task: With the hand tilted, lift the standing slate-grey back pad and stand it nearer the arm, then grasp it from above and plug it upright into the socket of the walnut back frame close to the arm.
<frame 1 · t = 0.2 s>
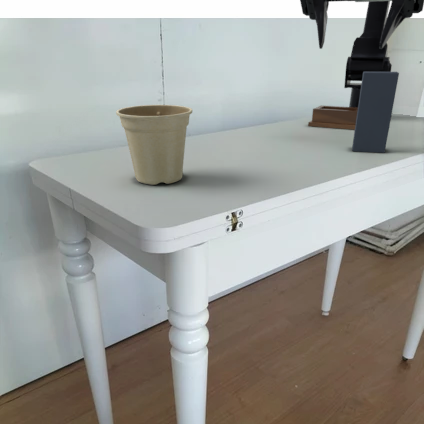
hand: (350, 47, 70), 15 cm above the table, tool tilted 35°, fingers open, 9 cm apart
flower pot: (159, 180, 60), on the table
back pad: (368, 150, 74), on the table
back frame: (336, 125, 94), on the table
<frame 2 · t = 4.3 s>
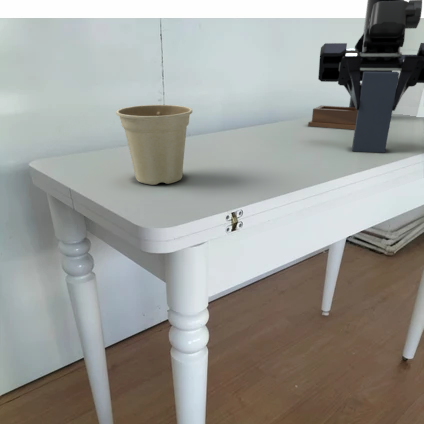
hand: (375, 108, 69), 7 cm above the table, tool tilted 45°, fingers closed on back pad, 5 cm apart
back pad: (368, 150, 74), on the table, touching gripper
everything else where it was.
when the fingers open (7 cm above the table, at t = 9.6 s): back pad stays where it is, on the table.
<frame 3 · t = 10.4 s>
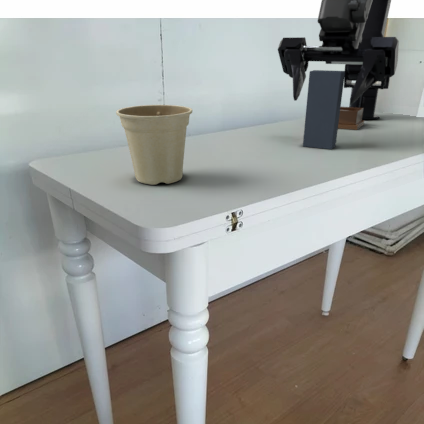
hand: (322, 100, 72), 7 cm above the table, tool tilted 45°, fingers open, 9 cm apart
back pad: (319, 146, 77), on the table
everything else where it was.
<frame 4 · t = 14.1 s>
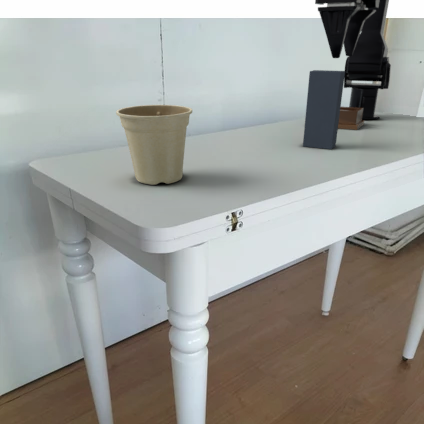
hand: (342, 57, 77), 13 cm above the table, tool pointing down, fingers open, 9 cm apart
nothing on the table moved.
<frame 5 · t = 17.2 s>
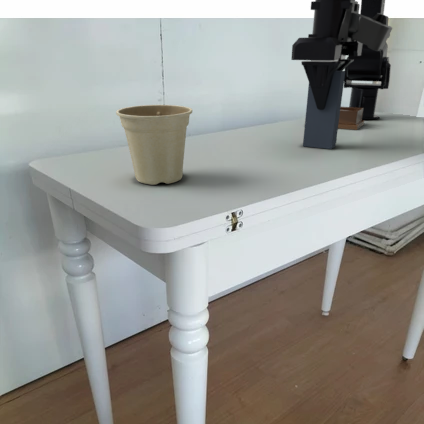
hand: (323, 108, 74), 6 cm above the table, tool pointing down, fingers closed on back pad, 2 cm apart
back pad: (319, 146, 77), on the table, touching gripper
everything else where it was.
when the fingers open (7 cm above the table, at t = 23.6 s): back pad stays where it is, resting on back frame.
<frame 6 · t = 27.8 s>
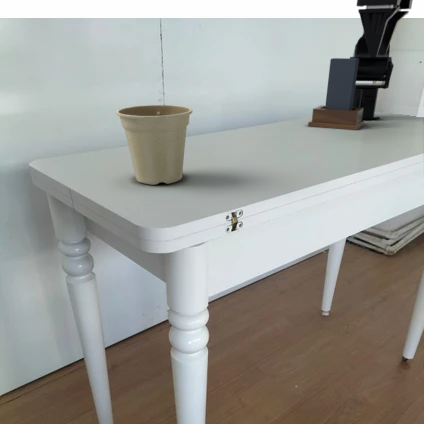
hand: (378, 56, 81), 13 cm above the table, tool pointing down, fingers open, 9 cm apart
back pad: (337, 121, 94), point 1 cm above the table, touching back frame
everything else where it was.
at the end: back pad 0.1 cm off-centre on the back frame, point 0.8 cm above the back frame's base; back pad tilted 0°; the gripper is holding nothing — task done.
